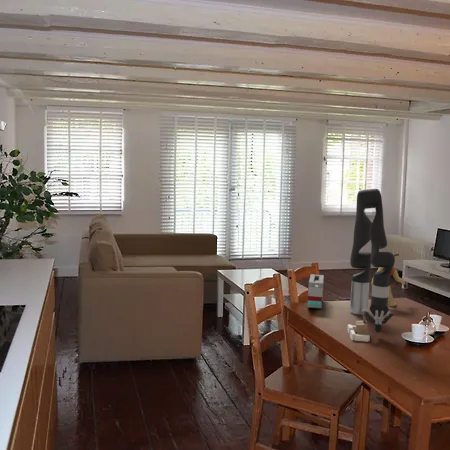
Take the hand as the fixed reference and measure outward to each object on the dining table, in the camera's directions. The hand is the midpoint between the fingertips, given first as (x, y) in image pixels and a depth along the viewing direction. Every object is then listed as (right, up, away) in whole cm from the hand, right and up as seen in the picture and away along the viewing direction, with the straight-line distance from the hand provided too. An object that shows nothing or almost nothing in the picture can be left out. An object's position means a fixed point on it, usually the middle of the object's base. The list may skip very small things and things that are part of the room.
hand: (377, 331), depth 249 cm
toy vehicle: (-19, +5, +58) cm, 61 cm away
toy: (+24, +3, +61) cm, 65 cm away
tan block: (-7, -2, +1) cm, 7 cm away
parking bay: (-8, -2, +1) cm, 9 cm away
